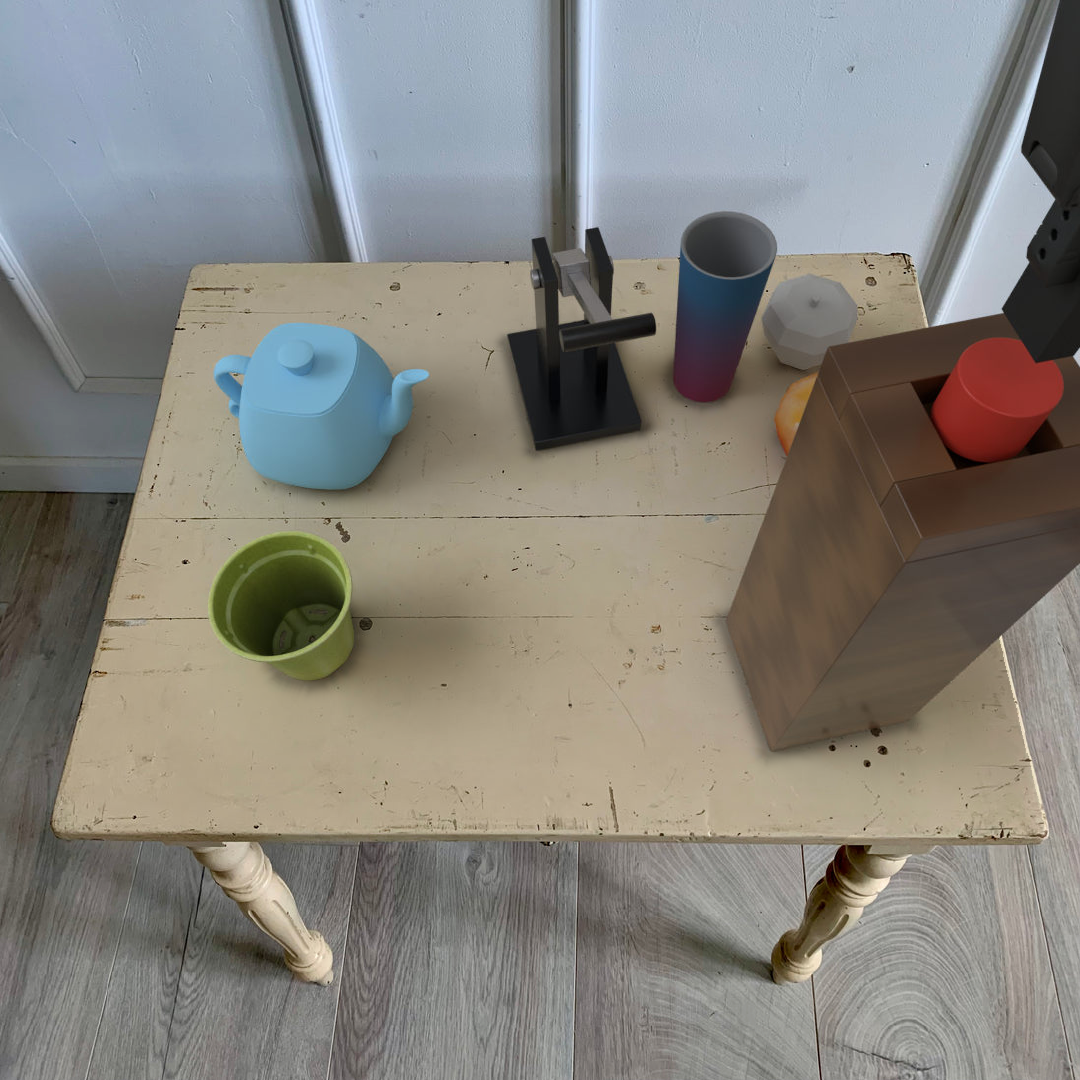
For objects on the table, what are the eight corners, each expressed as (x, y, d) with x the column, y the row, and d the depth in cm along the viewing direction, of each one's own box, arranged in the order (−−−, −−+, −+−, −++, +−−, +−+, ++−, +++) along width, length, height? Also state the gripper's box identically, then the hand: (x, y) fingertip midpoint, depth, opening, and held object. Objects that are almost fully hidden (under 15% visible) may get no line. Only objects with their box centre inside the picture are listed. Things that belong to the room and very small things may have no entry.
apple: (749, 316, 79) (762, 261, 74) (838, 317, 79) (859, 261, 73) (756, 387, 75) (771, 334, 70) (850, 388, 75) (872, 335, 69)
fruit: (910, 467, 69) (887, 422, 63) (814, 507, 73) (783, 469, 66) (875, 387, 73) (849, 338, 67) (785, 429, 76) (752, 385, 70)
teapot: (406, 438, 61) (162, 406, 63) (428, 517, 70) (215, 487, 72) (448, 303, 67) (223, 278, 69) (463, 392, 76) (265, 368, 78)
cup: (758, 386, 76) (797, 251, 62) (696, 424, 74) (722, 293, 61) (707, 336, 78) (734, 197, 65) (646, 372, 77) (661, 237, 64)
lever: (657, 345, 57) (655, 310, 55) (565, 363, 56) (561, 327, 55) (608, 274, 67) (606, 243, 65) (530, 288, 66) (526, 257, 65)
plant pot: (369, 705, 63) (342, 660, 55) (239, 704, 63) (193, 660, 56) (383, 586, 67) (359, 530, 60) (261, 586, 68) (222, 530, 60)
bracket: (641, 430, 74) (655, 303, 61) (535, 451, 73) (527, 327, 60) (605, 324, 79) (612, 187, 66) (507, 342, 79) (494, 208, 66)
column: (909, 720, 61) (1161, 489, 35) (770, 752, 60) (921, 539, 34) (854, 593, 66) (1040, 305, 40) (725, 620, 65) (827, 345, 39)
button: (1045, 453, 37) (1084, 405, 34) (954, 471, 36) (986, 425, 34) (1001, 379, 39) (1034, 328, 36) (914, 396, 38) (941, 346, 36)
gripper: (1974, -918, 14) (1146, 231, 35) (1232, -851, 13) (831, 290, 34) (2584, -877, 11) (1259, 377, 31) (1629, -781, 10) (911, 447, 30)
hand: (1037, 331), depth 33 cm, fingers closed
